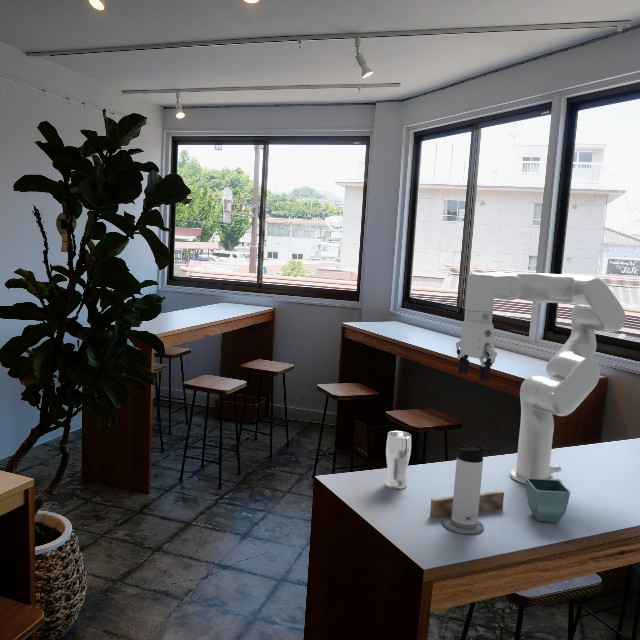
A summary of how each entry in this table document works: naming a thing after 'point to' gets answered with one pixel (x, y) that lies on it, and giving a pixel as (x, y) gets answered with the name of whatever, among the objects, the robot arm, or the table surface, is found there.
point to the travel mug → (467, 486)
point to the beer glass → (397, 458)
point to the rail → (486, 503)
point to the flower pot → (547, 499)
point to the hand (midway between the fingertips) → (473, 377)
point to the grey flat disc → (453, 528)
